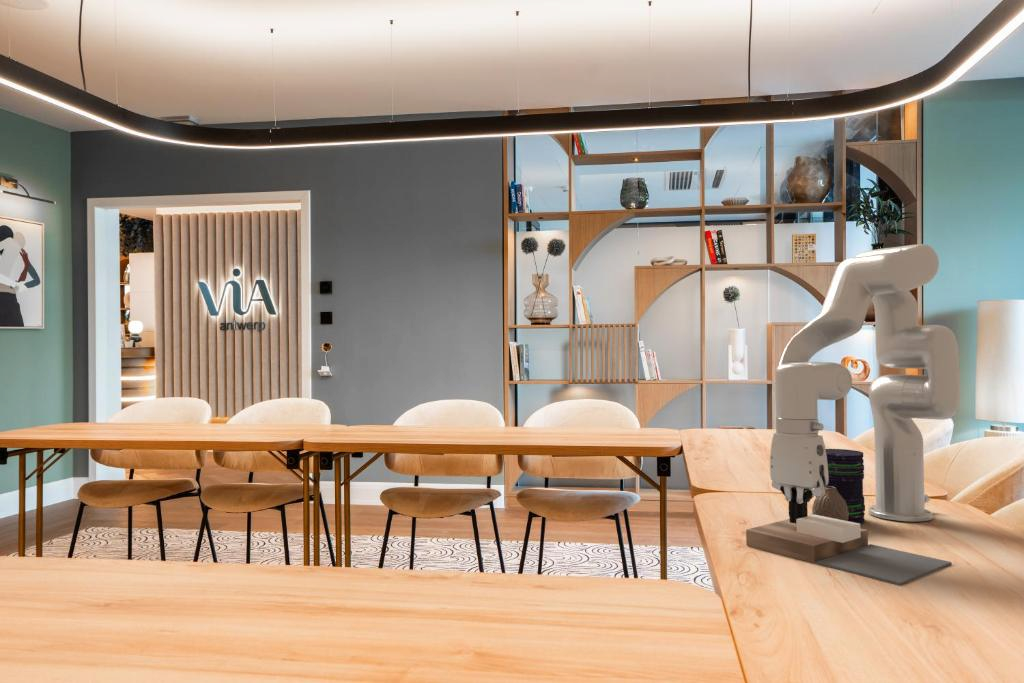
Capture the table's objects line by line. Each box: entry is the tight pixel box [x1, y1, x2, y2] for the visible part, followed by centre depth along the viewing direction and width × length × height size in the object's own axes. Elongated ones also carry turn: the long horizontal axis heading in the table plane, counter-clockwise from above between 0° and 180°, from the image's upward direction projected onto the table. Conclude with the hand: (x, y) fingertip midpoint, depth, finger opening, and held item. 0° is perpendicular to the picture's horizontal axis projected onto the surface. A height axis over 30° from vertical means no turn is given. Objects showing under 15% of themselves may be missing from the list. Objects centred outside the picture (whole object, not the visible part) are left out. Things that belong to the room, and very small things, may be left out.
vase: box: [811, 486, 849, 521], centre depth 143 cm, size 7×7×9 cm
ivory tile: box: [796, 514, 861, 543], centre depth 128 cm, size 6×9×2 cm, turn 35°
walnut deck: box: [745, 518, 869, 564], centre depth 131 cm, size 18×14×3 cm
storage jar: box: [815, 448, 866, 526], centre depth 151 cm, size 10×10×15 cm
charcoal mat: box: [816, 543, 952, 586], centre depth 119 cm, size 18×14×1 cm
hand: (798, 522), depth 133 cm, fingers closed
